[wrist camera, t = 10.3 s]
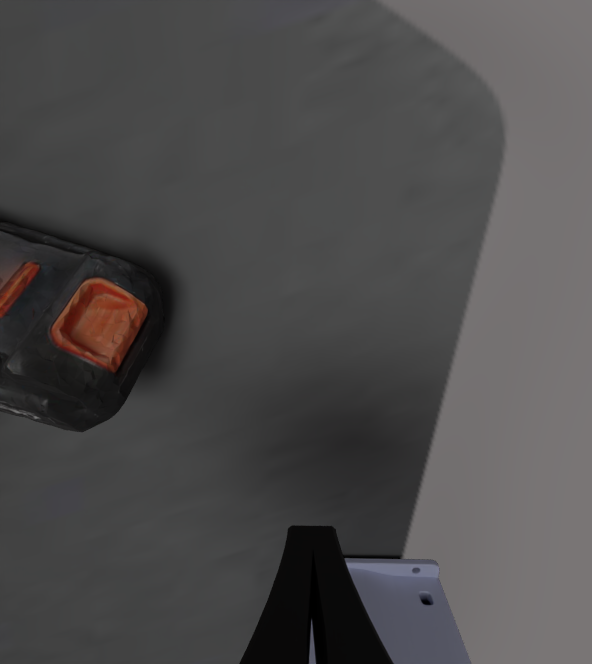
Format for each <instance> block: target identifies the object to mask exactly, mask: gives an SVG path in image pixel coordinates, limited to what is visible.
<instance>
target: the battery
mask: <svg viewBox="0 0 592 664" xmlns="http://www.w3.org/2000/svg"><path fill="white" fill-rule="evenodd" d="M162 298H163V292H162V290H161V288H160V286H159V284H158V282H157V281H156V279H155V278H154V277H153V275H152V274H150V273H149V272H147V271H146V270H145V269H143V268H141V267H140V266H138V265H136V264H133V263H131V262H128V261H125V260H123V259H120V258H118V257H114V256H111V255H108V254H105V253H102V252H99V251H97V250H94V249H91V248H88V247H85V246H82V245H78V244H74V243H71V242H68V241H65V240H61V239H58V238H56V237H54V236H50V235H47V234H44V233H41V232H38V231H35V230H31V229H27V228H24V227H20V226H16V225H14V224H12V223H10V222H0V411H2V412H5V413H9V414H12V415H16V416H21V417H26V418H29V419H31V420H34V421H37V422H40V423H44V424H48V425H52V426H55V427H58V428H61V429H64V430H70V431H77V432H84V431H86V430H88V429H90V428H92V427H94V426H96V425H98V424H100V423H102V422H104V421H107V420H109V419H110V418H111V417H113V416H114V415H115V414H116V413H117V412H118V411H119V410H120V408H121V407H122V406H123V404H124V403H125V401H126V399H127V397H128V395H129V394H130V392H131V390H132V388H133V386H134V384H135V382H136V380H137V378H138V376H139V374H140V372H141V370H142V368H143V366H144V365H145V363H146V361H147V359H148V358H149V356H150V354H151V352H152V350H153V347H154V345H155V343H156V342H157V340H158V339H159V337H160V336H161V334H162V331H163V328H164V316H163V311H162Z"/></svg>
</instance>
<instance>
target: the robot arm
mask: <svg viewBox="0 0 592 664" xmlns="http://www.w3.org/2000/svg"><path fill="white" fill-rule="evenodd" d="M438 577H439V566H438V563H437V562H436V561H434V560H420V559H418V560H415V559H364V558H344V556H343V554H342V551H341V548H340V544H339V541H338V537H337V534H336V529H335V528H333V527H332V526H291V527H290V528H288V534H287V540H286V545H285V549H284V553H283V556H282V560H281V563H280V566H279V570H278V573H277V575H276V578H275V581H274V584H273V587H272V590H271V592H270V595H269V598H268V600H267V603H266V605H265V608H264V610H263V612H262V615H261V617H260V620H259V622H258V625H257V627H256V629H255V632H254V634H253V636H252V638H251V640H250V643H249V645H248V647H247V649H246V651H245V653H244V655H243V657H242V659H241V661H240V663H239V664H471V661H470V659H469V656H468V654H467V651H466V649H465V646H464V643H463V641H462V638H461V635H460V633H459V630H458V628H457V625H456V623H455V620H454V617H453V614H452V612H451V609H450V607H449V604H448V601H447V599H446V596H445V594H444V591H443V588H442V586H441V583H440V581H439V578H438Z"/></svg>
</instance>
